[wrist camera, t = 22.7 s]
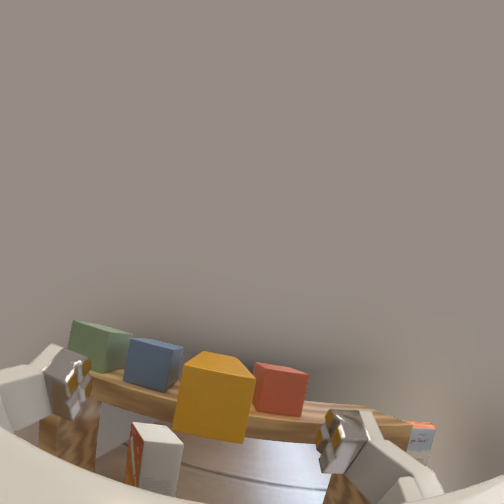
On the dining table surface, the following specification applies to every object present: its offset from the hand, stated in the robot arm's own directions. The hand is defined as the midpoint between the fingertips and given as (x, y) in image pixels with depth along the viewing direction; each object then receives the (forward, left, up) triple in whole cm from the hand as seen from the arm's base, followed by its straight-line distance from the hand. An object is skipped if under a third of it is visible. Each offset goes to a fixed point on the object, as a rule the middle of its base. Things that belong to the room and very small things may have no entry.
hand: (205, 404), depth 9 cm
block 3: (+21, -6, -4) cm, 22 cm away
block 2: (+21, +6, -4) cm, 22 cm away
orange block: (+17, 0, -4) cm, 17 cm away
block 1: (+21, +12, -4) cm, 24 cm away
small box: (+37, +7, -28) cm, 47 cm away
